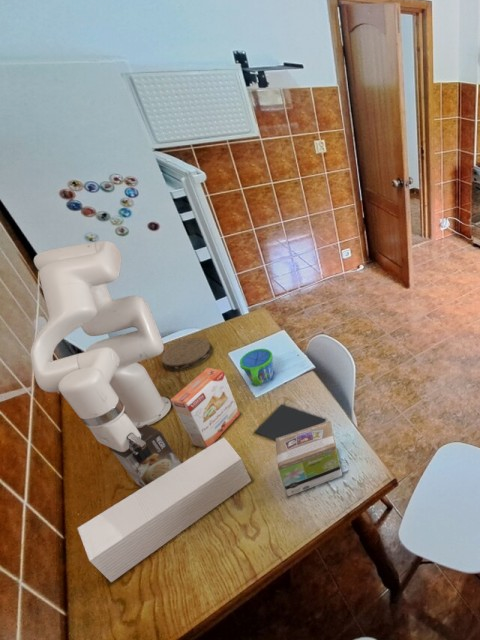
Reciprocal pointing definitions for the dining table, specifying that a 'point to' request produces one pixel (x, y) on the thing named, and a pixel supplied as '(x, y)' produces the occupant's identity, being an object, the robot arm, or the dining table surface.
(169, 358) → the round cork coaster
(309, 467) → the tea box
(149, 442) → the coffee box
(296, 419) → the placemat
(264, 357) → the snack cup
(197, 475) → the white long rectangular block
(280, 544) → the dining table surface
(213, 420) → the cracker box
